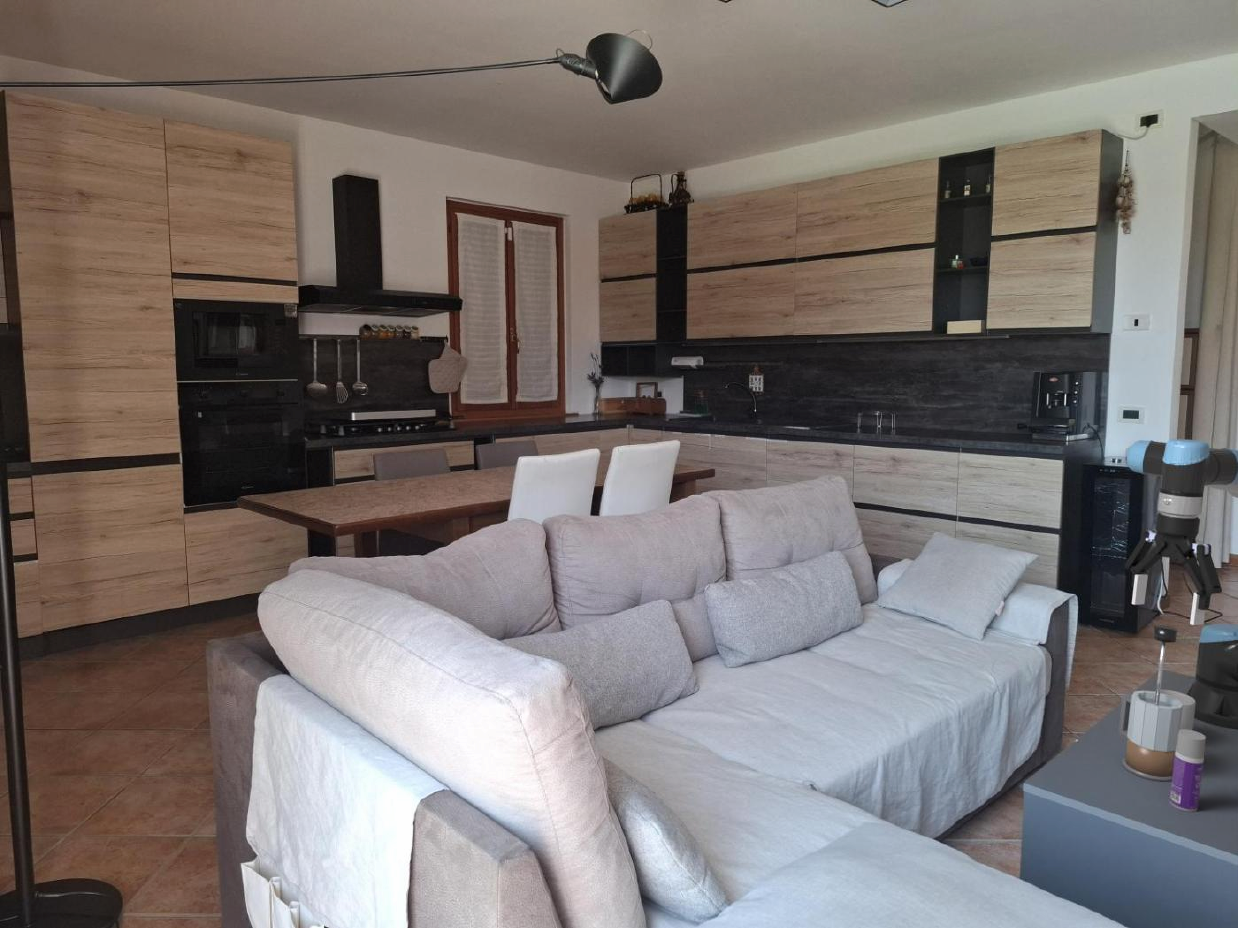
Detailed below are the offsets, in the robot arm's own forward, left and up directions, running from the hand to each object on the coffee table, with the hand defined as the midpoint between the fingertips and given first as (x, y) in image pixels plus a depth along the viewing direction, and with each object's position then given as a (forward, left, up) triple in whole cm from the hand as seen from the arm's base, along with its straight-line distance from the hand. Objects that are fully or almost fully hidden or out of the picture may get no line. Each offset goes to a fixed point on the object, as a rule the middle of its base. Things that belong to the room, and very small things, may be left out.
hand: (1166, 613), depth 175 cm
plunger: (0, 0, -21) cm, 21 cm away
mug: (-18, -10, -35) cm, 41 cm away
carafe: (0, -1, -35) cm, 35 cm away
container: (+6, +13, -35) cm, 38 cm away
